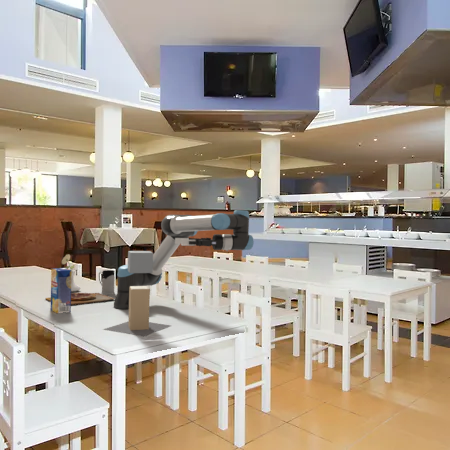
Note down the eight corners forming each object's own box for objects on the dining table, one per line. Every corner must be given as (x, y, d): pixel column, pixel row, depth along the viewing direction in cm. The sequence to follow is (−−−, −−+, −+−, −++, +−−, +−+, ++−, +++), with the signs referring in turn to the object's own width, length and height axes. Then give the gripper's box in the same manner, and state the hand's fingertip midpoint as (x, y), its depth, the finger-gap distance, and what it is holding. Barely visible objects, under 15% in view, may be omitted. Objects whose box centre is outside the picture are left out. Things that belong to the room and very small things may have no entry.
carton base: (128, 325, 201) (129, 286, 201) (146, 324, 204) (147, 285, 203) (130, 330, 193) (131, 289, 193) (148, 329, 196) (149, 288, 196)
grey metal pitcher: (106, 295, 279) (107, 272, 279) (93, 292, 287) (93, 270, 287) (117, 293, 286) (118, 271, 286) (104, 291, 294) (104, 269, 294)
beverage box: (63, 308, 237) (64, 267, 237) (70, 311, 229) (71, 270, 228) (50, 309, 233) (51, 268, 232) (57, 313, 224) (58, 270, 224)
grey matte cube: (127, 270, 201) (128, 251, 201) (149, 270, 204) (149, 251, 204) (129, 273, 192) (130, 252, 192) (152, 272, 195) (153, 252, 195)
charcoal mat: (134, 320, 213) (134, 319, 213) (171, 326, 203) (172, 325, 203) (103, 330, 193) (103, 329, 193) (143, 337, 184) (143, 336, 184)
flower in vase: (73, 289, 298) (74, 252, 298) (83, 291, 291) (84, 254, 291) (56, 291, 288) (57, 253, 287) (66, 293, 281) (67, 255, 280)
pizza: (96, 294, 284) (96, 288, 284) (118, 301, 264) (119, 295, 264) (42, 300, 259) (42, 294, 259) (62, 308, 239) (62, 301, 239)
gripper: (229, 252, 198) (183, 251, 191) (214, 248, 221) (172, 247, 215) (230, 235, 198) (184, 234, 191) (214, 233, 221) (173, 232, 215)
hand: (178, 241), depth 203 cm, fingers open, 13 cm apart
